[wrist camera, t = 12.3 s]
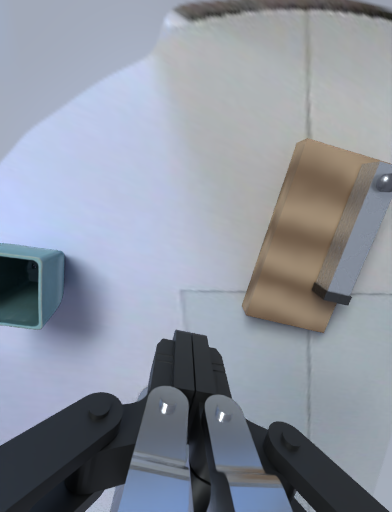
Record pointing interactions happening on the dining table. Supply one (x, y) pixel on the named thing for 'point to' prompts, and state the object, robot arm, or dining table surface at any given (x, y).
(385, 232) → the dining table surface
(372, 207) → the hinged leg
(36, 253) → the flower pot
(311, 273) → the wooden board with bar
